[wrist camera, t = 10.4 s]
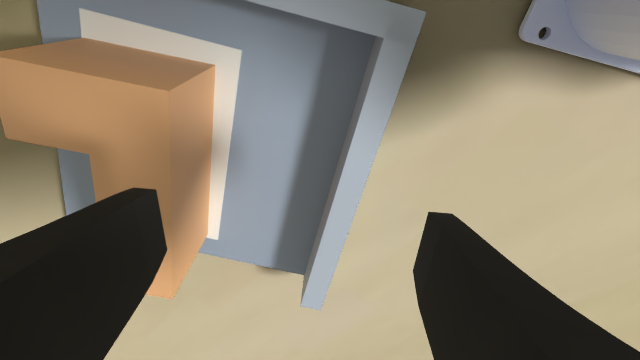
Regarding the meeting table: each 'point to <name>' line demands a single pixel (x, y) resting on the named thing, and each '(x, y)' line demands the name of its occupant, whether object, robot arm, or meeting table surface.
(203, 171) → the bracket
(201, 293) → the meeting table surface
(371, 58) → the walls
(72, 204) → the board
